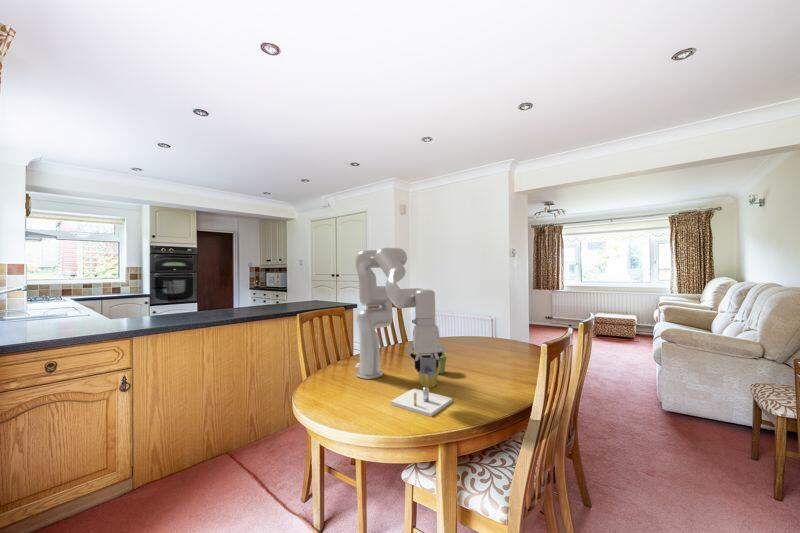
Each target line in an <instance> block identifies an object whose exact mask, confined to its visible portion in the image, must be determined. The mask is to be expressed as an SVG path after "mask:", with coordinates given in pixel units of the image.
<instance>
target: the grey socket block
mask: <svg viewBox="0 0 800 533" xmlns="http://www.w3.org/2000/svg"><path fill="white" fill-rule="evenodd" d="M419 369H420V371H419V373H420V374H427V376H428V377H434V376H433V373H436V358H435V357H434V356H433V355H432V354H420V356H419ZM419 373H418V374H419Z"/></svg>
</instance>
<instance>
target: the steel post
mask: <svg viewBox="0 0 800 533" xmlns="http://www.w3.org/2000/svg"><path fill="white" fill-rule="evenodd" d="M422 391H423V401H424V402H429V392H430V387H424V386H422Z"/></svg>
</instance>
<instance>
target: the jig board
mask: <svg viewBox="0 0 800 533" xmlns="http://www.w3.org/2000/svg"><path fill="white" fill-rule="evenodd" d="M414 393H416V394H417V406H414ZM453 399H454V398H453V397H449V396H445V395H441V394H437V393H434V392H430V391H429V402H424V401H423V389H417V388H412V389H410V390H408V391H406V392H405V393H403V394H402V393H401V395H399V396H397V397H395V398H394V399H391V400H390V401H389V403H390V406H391V405H392V406H395V407H398V408H401V409H404V410H408V411H411V412H414V413H416V414H420V415H424V416H427V417H430V418H432V417H433V416H434V415H436V414H437V413H439V412H440V411H441V410H443V409H444V408H445V407H447V406H448V405H450V404H451V403H452V402H453V401H454V400H453Z"/></svg>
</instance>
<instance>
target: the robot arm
mask: <svg viewBox="0 0 800 533" xmlns="http://www.w3.org/2000/svg"><path fill="white" fill-rule="evenodd" d="M407 256H408V255H407V252H406V251H405V250H404V249H403V248H402V247H401V248H400V247H382V248H379V249H364V250H360V251H359V252H358V253H357V254H356V257H355V262H354V263H355V268H356V273H357V276H358V294H359V302H360V304H361V305H362V306H363V307H375V306H378V307H377V308H367V309H363V310H361V311H359V313H358V314H357V326H358V333H359V334H358V335H359V362H357V363H356V364H355V365H354V368H355V369H357V372H356V377H358V378H360V379H364V380H368V379H369V380H373V379H379V378H380V377H382V376H383V374H384V371H383V370H381V369H380V366H381V365H380V362H381V360H380V359H381V358H380V351H381V350H380V337H379V336H380V335H379V333H377V331H376V329H379V328H380V329H381V328H387V327H390V326H391V324H392V322H393V306H394V307H396V308H397V309H409V308H410V309H411V308H412V309H413V308H415V318H414V319H412V320H411V323H412V324H415V325H414V326H413V331H412V343H411V344H410V345H409V346H408V347H407V348H406V349H405V352H406V353H407V355H409V356H410V357H411V359H413V360H414V369H415V370H416V371H417V373H418V372H419V371H420V369H419V356H420V355H426V354H431V353H433V355H434V357H435V358H436V371H437V368H438V360H439V358H440V357H441V355H442V354H443V353H445V352H446V351H447V348H446V347H445V346H444V345H443V344H442V343H441V336H440V330H439V326H438V325H437V324H436V323H437V322H436V292H435V291H434V290H433V289H423V288H420V287H419V288H418V287H416V288H413V287H412V288H411V287H410V288H400V287H399V286H398V284H397V283H399V282H400V281H401V280H403V279H404V278H405V275H406V273H407V271H406V268H405V264H406V263H407V260H408V257H407ZM373 269H381V270H382V272H383V274H384V275H385V276H386V280H385V281H386V282H385V285H378V284H377V276H376V274H375V272H374V271H373ZM412 351H413V352H414V353H413V352H412Z"/></svg>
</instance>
